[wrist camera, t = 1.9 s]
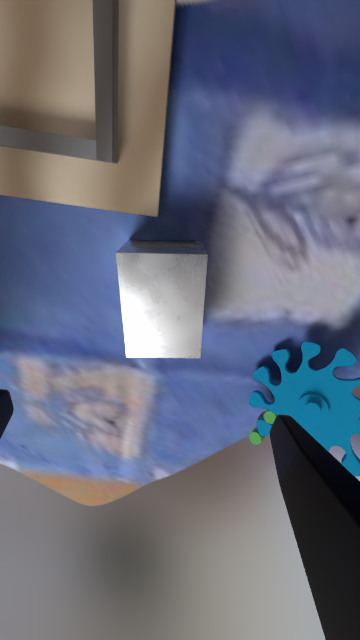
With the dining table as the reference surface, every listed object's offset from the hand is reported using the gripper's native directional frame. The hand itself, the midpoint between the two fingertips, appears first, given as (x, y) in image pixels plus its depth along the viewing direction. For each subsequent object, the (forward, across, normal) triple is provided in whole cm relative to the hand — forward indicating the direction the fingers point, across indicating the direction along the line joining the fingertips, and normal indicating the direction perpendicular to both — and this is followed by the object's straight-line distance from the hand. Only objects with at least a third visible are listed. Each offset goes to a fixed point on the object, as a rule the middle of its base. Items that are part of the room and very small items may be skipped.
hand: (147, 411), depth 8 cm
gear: (+12, -12, +7) cm, 18 cm away
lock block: (+12, 0, 0) cm, 12 cm away
